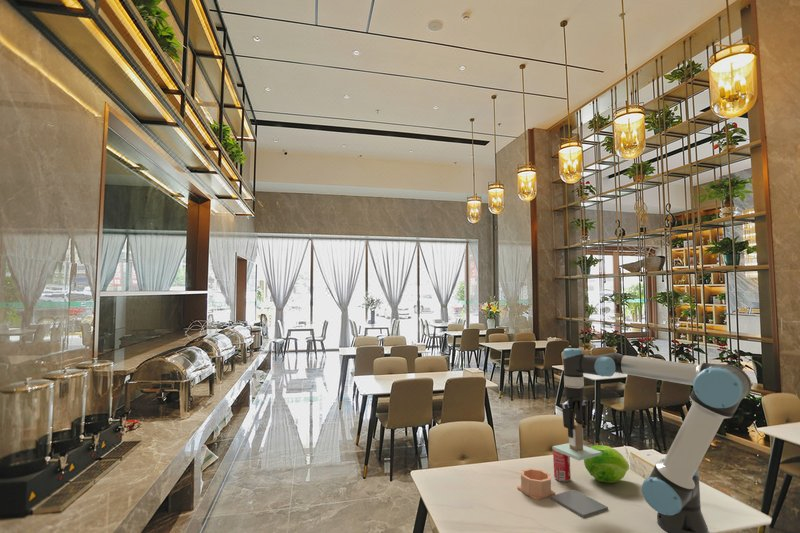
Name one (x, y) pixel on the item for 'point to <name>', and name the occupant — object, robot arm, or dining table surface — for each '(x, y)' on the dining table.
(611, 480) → the lettuce
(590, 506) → the mat
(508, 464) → the dining table surface
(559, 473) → the soda can
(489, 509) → the dining table surface
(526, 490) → the bowl
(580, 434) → the lid
